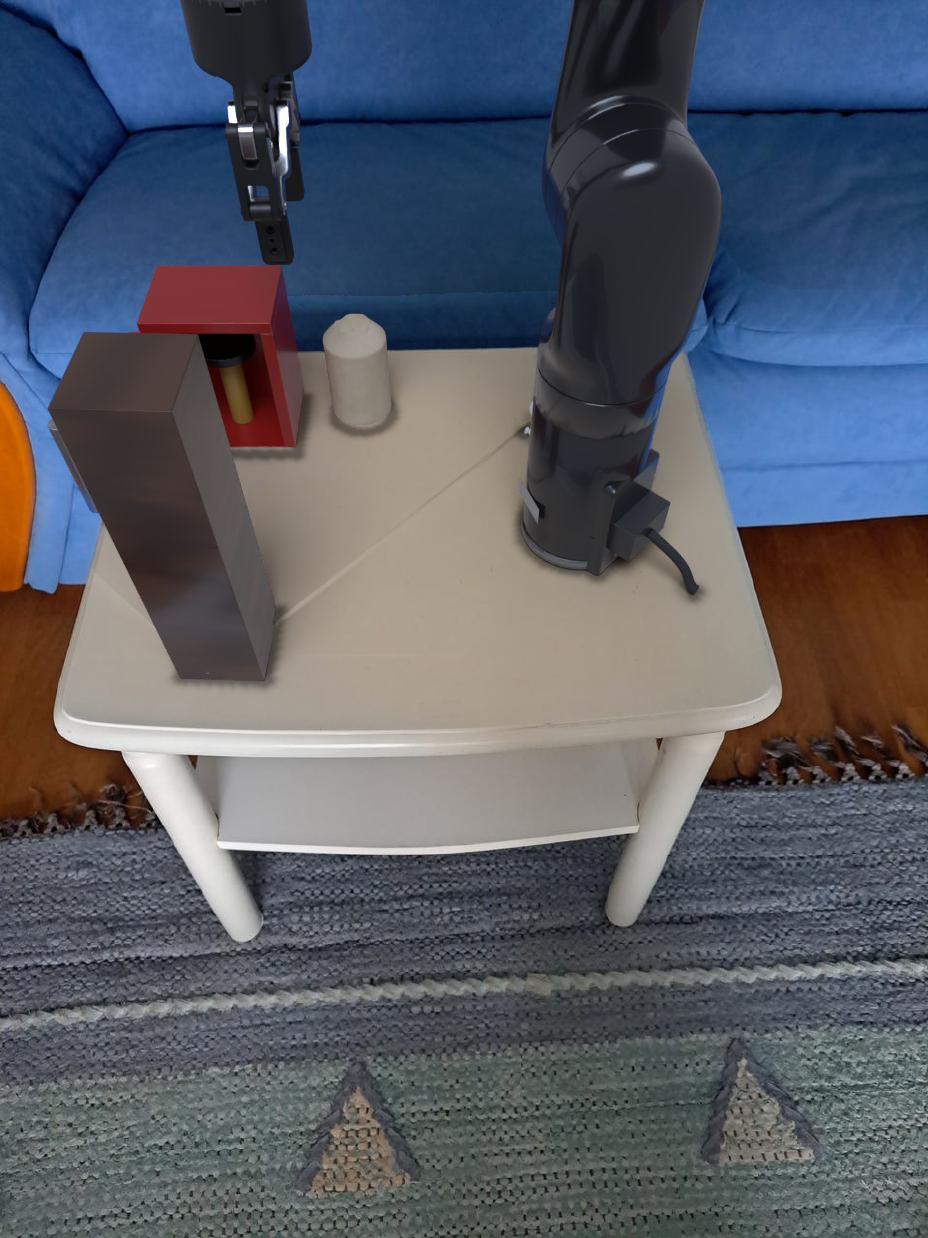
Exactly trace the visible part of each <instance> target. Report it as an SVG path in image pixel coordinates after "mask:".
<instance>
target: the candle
mask: <svg viewBox="0 0 928 1238" xmlns="http://www.w3.org/2000/svg"><path fill="white" fill-rule="evenodd" d="M322 344H323V350H324V351H323V352H324V358H325V364H326V371H327V376H328V377H327V378H328V384H329V390H330V398H331V404H332V410H333V413H334V415H335V417H336V418H338V420H340V421H341V422H342V423H345V424H347V425H352V426H359V427H360V426H361V427H362V426H370V425H374V424H376V423H378V422H380V421H383V420H384V419H385V418H386V417H387V416H388V415H389V414H390V412H391V410H392V394H391V393H392V392H391V382H390V370H389V359H388V344H387V334H386V331H385V330H384V328H383V327H382V326H381V325H379V324H378V323H377V322H376V321H373V320H372V319H371V318H369V317H368V316H367V315H365V314H363V313H348V314H345V315H344V316H342V318H341V319H340V318H339V319H337V320H335V321H334V322H333V324H331V325H329V327H328V328H327V329H326V330H325V332H324V334H323V336H322Z"/></svg>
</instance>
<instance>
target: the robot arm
mask: <svg viewBox="0 0 928 1238" xmlns="http://www.w3.org/2000/svg"><path fill="white" fill-rule="evenodd" d="M179 2H180V3H179V4H180V7H181V11H182V15H183V20H184V24H185V29H186V33H187V37H188V42H189V46H190V50H191V55H192V58H193V60H194V62H195V64H196V65H197V67H198V68H200V70H201V71H203V72H204V73H206V74H207V75H209V76H210V77H211V76H212V77H214V78H216V77H217V78H219V79H221V80H223V81H225V82H226V83H228V84H229V85H230V86H231V88H232V98H233V99H227V115H228V116H227V118H228V122H226V123H225V129H224V138H225V140H226V142H227V147H228V153H229V157H230V162H231V166H232V171H233V176H234V177H233V178H234V181H235V186H236V190H237V191H236V192H237V195H238V201H239V204H240V205H239V206H240V216H242V219H243V221H244V222H246V223H247V222H253V223H254V227H255V231H256V236H257V240H258V245H259V250H260V254H261V259H262V262H263V263H264V264H265V265H267V266H272V265H281V266H289V265H292V264H293V263H294V259H295V249H294V245H293V244H294V243H293V237H292V233H291V227H290V222H289V221H290V220H289V215H288V210H289V204H288V202H300V201H302V200H304V197H305V192H306V190H305V185H304V178H303V170H302V165H301V159H300V152H299V151H300V150H299V147H300V142H301V134H300V126H301V121H302V113H301V112H300V107H299V102H298V101H299V100H298V95H297V89H296V88H297V87H296V82H295V76H294V72H296V71H297V70H299V69H300V68H302V67H303V66H304V65H305V64H306V63H307V62H308V60H309V59H310V57H311V55H312V51H313V42H312V33H311V26H310V19H309V12H308V3H307V0H179ZM706 2H707V0H571V6H570V11H569V18H568V23H567V31H566V37H565V42H564V46H563V52H562V57H561V63H560V67H559V73H558V76H557V83H556V89H555V92H554V99H553V103H552V108H551V114H550V119H549V122H548V123H549V124H548V128H547V134H546V139H545V145H544V149H543V150H544V151H543V157H542V165H541V193H542V199H543V204H544V209H545V212H546V214H547V218H548V220H549V223H550V225H551V228H552V230H553V233H554V235H555V238H556V240H557V243H558V246H559V248H560V264H559V265H560V267H559V277H558V285H557V293H556V300H555V301H556V302H555V305H554V306H552V308H551V309H550V310H549V311H548V312H547V313H546V314H545V316H544V318H543V319H542V322H541V324H540V327H539V328H540V329H539V332H538V342H537V349H536V350H537V351H536V365H535V366H536V367H535V378H534V388H533V396H532V397H533V399H532V401H533V408H532V417H531V419H530V420H531V421H530V428H531V430H530V436H529V441H528V452H527V453H528V454H527V465H526V475H525V484H524V482H523V481H522V478H519V483H518V484H519V486H518V493H519V494H520V497H522V499H523V508H522V511H521V520H520V529H521V534H522V537H523V540H524V541H525V543H526V545H527V546H528V547H529V548H530V550H531V551H532V552H533V553H534V554H536V555H537V556H538V557H539V558H541V560H544V561H546V562H547V563H549V564H552V565H554V566H557V567H561V568H565V569H570V570H586V571H588V572H590V573H592V574H593V575H595V576H599V575H601V574H602V573H603V572H604V571H605V570H606V569H607V568H608V567H609V566H610V565H611V564H612V563H613V562H614V561H615V560H617V559H619V558H621V559H623V560H624V561H626V562H627V563H629V562H631V560H633V558H635V557H636V556H637V555H638V554H639V553H640V552H641V551H642V550H643V549H644V548H645V547H646V546H647V545H648V544H649V543H650V542H651V543H653V544H654V545H655V546H656V547H657V548H658V549H659V550H660V551H661V552H663V553H664V554H665V556H667V557H668V558H669V559H670V560H671V562H672V563H673V564H674V565H675V567H676V568H677V569H678V571H679V572H680V575H681V577H682V580H683V583H684V585H685V587H686V589H687V591H688V592H689V593H691V594H692V595H695V594H696V593H697V592H698V589H699V587H700V585H699V584H697V582H696V581H695V578H694V575H693V572H692V569H691V567H690V566H689V564H688V562H687V561H686V559H685V558H684V557H683V556H682V555H681V553H679V551H678V550H677V549H676V548H675V547H673V545H672V544H671V543H669V542H668V541H667V540H666V539H665V538H664V537H663V536H662V535H660V534H659V533H660V532H661V531H662V530H663V529H664V527H665V524H666V520H667V517H668V514H669V510H670V507H671V501H669V500H668V499H666V498H664V497H662V496H661V495H659V494H658V493H655V492H654V491H653V490H652V489H653V486H654V481H655V478H656V473H657V470H658V466H659V462H660V457H661V455H660V452H659V451H657V450H656V449H654V448H652V446H653V445H652V444H653V441H654V437H655V433H656V429H657V425H658V420H659V416H660V413H661V408H662V403H663V401H664V400H663V399H664V396H665V391H666V388H667V383H668V378H669V375H670V372H671V368H672V364H673V363H674V361H676V359H677V358H678V357H679V356H680V354H681V353H682V352H683V350H684V348H685V346H686V345H687V343H688V341H689V339H690V337H691V335H692V331H693V328H694V325H695V323H696V318H697V316H698V312H699V309H700V306H701V303H702V299H703V296H704V293H705V289H706V288H707V287H706V286H707V283H708V279H709V277H710V274H711V270H712V267H713V263H714V260H715V256H716V253H717V248H718V244H719V240H720V234H721V229H722V220H723V195H722V189H721V186H720V183H719V180H718V177H717V176H716V174H715V172H714V170H713V169H712V167H711V164H710V163H709V161H708V160H707V158H706V157H705V155H704V154H703V152H702V151H701V149H700V147H699V146H698V144H697V142H696V140H695V139H694V138H693V136H692V135H691V133H690V131H689V127H688V126H689V125H688V109H689V108H688V107H689V98H690V97H689V96H690V90H691V89H690V88H691V80H692V72H693V66H694V62H695V55H696V51H697V45H698V38H699V33H700V28H701V21H702V19H703V14H704V9H705V5H706ZM257 187H265V188H266V189H267V191H268V195H258V191H257Z"/></svg>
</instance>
